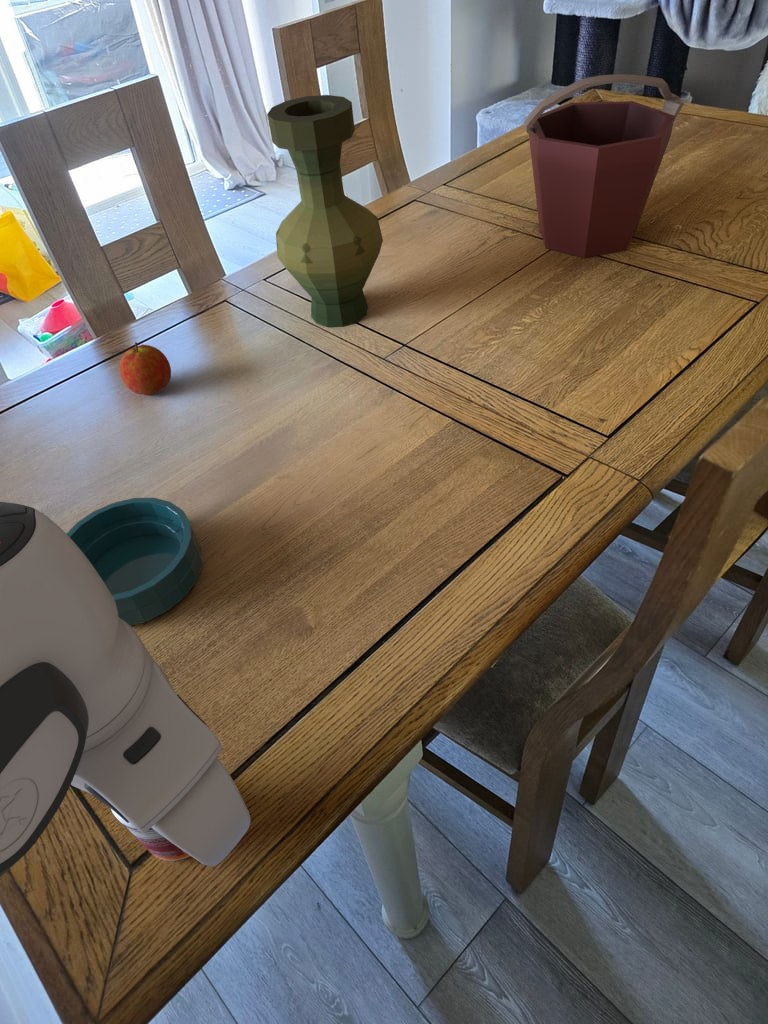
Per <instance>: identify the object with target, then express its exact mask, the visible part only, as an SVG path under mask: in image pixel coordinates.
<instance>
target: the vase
mask: <svg viewBox="0 0 768 1024" xmlns="http://www.w3.org/2000/svg"><path fill="white" fill-rule="evenodd" d="M353 112H354V111H353V101H351V100H350V99H349V98H346V97H345V96H339V95H331V94H320V95H306V96H302V97H297V98H292V99H288V100H285V101H283V102H281V103H277V104H276V105H274V106H271V108H270V109H269V111H268V112H267V113H266V116H267V122H268V127H269V132H270V138H271V142H272V143H273V144H274V145H275V146H276V148H278V149H281V150H287V151H288V154H289V156H290V159H291V161H292V163H293V165H294V168H295V170H296V177H297V182H298V188H299V195H300V202H299V203H298V204H296V206H295V207H294V208H293V209H292V210H291V211H290V212H289V213H288V214H287V216H285V217H284V219H283V220H282V221H281V222H280V224H279V226H278V228H277V230H276V232H275V240H276V241H275V242H276V256H277V259H278V260H279V262H280V263H281V264H282V265H283V267H284V268H285V269H286V270H287V271H288V273H289V274H290V275H291V276H292V277H293V278H294V280H295V281H296V282H297V283H298V284H299V285H300V287H301V288H302V289H303V290H304V291H305V292H306V294H308V295H309V297H310V298H311V299H310V300H311V303H310V317H311V319H312V320H313V321H314V323H315V324H317V325H320V326H323V327H326V328H344V327H348V326H350V325H353V324H354V325H355V324H356V323H358V322H360V321H361V320H363V319H364V318H366V316H367V315H368V311H369V304H368V301H367V298H366V295H365V292H364V287H365V285H366V283H367V281H368V280H369V277H370V274H371V272H372V270H373V269H374V266H375V265H376V264H375V263H376V261H377V259H378V257H379V255H380V253H381V249H382V246H383V242H384V239H383V235H382V234H383V233H382V231H381V226H380V222H379V218H378V216H376V215H375V213H373V212H372V211H371V210H370V209H369V208H367V207H365V206H364V205H362V204H360V203H359V202H357V201H356V200H353V199H352V198H350V197H348V196H347V195H345V191H344V190H345V189H344V183H343V176H342V168H341V158H342V150H343V149H342V148H343V143H344V142H346V141H347V140H350V139H351V138H352V137H353V135H354V133H355V130H356V127H355V120H354V113H353Z"/></svg>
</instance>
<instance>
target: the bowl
mask: <svg viewBox="0 0 768 1024" xmlns="http://www.w3.org/2000/svg"><path fill="white" fill-rule="evenodd" d="M66 534H67V535H68V536H69V537H70V538H71V539H72V540H73V542H74V543H75V544H76V545H77V546H78V547H79V549H80V550H81V551H82V552H83V554H84V555H85V556H86V557H87V559H88V560H89V561H90V563H91V564H92V565H93V567H94V568H95V570H96V571H97V572H98V574H99V575H100V577H101V578H102V580H103V581H104V583H105V585H106V586H107V588H108V589H109V591H110V593H111V594H112V596H113V598H114V600H115V603H116V606H117V610H118V615H119V618H121V619H122V620H123V621H125V622H126V623H128V624H129V625H130V626H131V627H132V626H134V625H139V624H143V623H146V622H148V621H151V620H153V619H155V618H157V617H160V616H161V615H163V614H165V613H166V612H169V610H171V609H172V608H173V607H175V606H176V605H177V604H179V603H180V602H181V601H182V600H183V599H184V598H185V597H187V595H188V593H189V592H190V591H191V589H192V588H193V587H194V586H195V584H196V583H197V581H198V579H199V575H200V573H201V570H202V567H203V550H202V547H201V545H200V543H199V542H200V541H199V540H198V538H197V535H196V532H195V530H194V528H193V526H192V523H191V521H190V519H189V518H188V516H187V514H186V513H185V511H184V510H183V509H182V508H180V507H179V506H177V505H176V504H174V503H173V502H172V501H168V500H166V499H161V498H157V497H132V498H128V499H124V500H118V501H114V502H112V503H109V504H107V505H105V506H102V507H100V508H98V509H95V510H94V511H92V512H90V513H89V514H87V515H86V516H84V517H83V518H82V519H80V520H79V521H77V522H76V523H74V525H73V526H72V527H71V528H70V529H69V530H68V531H67V532H66Z"/></svg>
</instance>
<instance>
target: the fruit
mask: <svg viewBox="0 0 768 1024" xmlns="http://www.w3.org/2000/svg"><path fill="white" fill-rule="evenodd" d="M134 345H135V346H134V347H132V348H130V349H128V350H126V351H125V353H123V355H122V357H121V359H120V362H119V375H120V377H121V380H122V382H123V384H124V385H125V386H126V388H127V389H128V390H130V391H131V392H133V393H136V394H137V395H142V396H146V397H147V396H148V397H151V396H155V395H158V393H160V392H161V391H163V390H164V389H165V388H166V387H167V386H168V384H169V382H170V381H171V379H172V378H171V377H172V368H171V364H170V362H169V360H168V358H167V356H166V355H165V354H164V353H163V352H162V351H161V349H158V348H157V347H155V346H152V345H149V344H140V345H138V342H134Z"/></svg>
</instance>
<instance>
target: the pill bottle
mask: <svg viewBox="0 0 768 1024" xmlns="http://www.w3.org/2000/svg"><path fill="white" fill-rule="evenodd" d="M110 810H111V813H112V814H113V816H114V817H115V818H116V819H117V821H119V823H120V824H121V825H122V826H123V827H124V828H126V830H127V831H128V832H129V833H130V834H131V835H132V836H133V837H134V838H135V839H136V840H137V841H138V842H139V843H140V844H141V845H142V846H143V847H144V848H145V849H146V850H147V851H148V852H149V853H150V854H152V855H153V856H154V857H156V858H158V859H159V860H163V861H168V862H176V861H182V860H184V859H187V858H190V857H191V856H190V855H189V854H187V853H186V852H184V851H183V850H181V849H180V848H179V847H177V846H176V845H174V844H173V843H171V842H170V841H169V840H167V839H166V838H164V837H163V836H162V835H160V834H159V833H158V832H156V831H155V830H154V829H152V828H150V829H149V830H148V831H146V832H140V831H138V830H137V829H136V828H135V827H134V826H133V825H132V824H131V823H130V822H129V823H127V822H126V821H125V820H124V819H123V818H121V817H120V816H119V815H118V814H117V813H116V812H114V811H113V810H112V809H111V808H110Z"/></svg>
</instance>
